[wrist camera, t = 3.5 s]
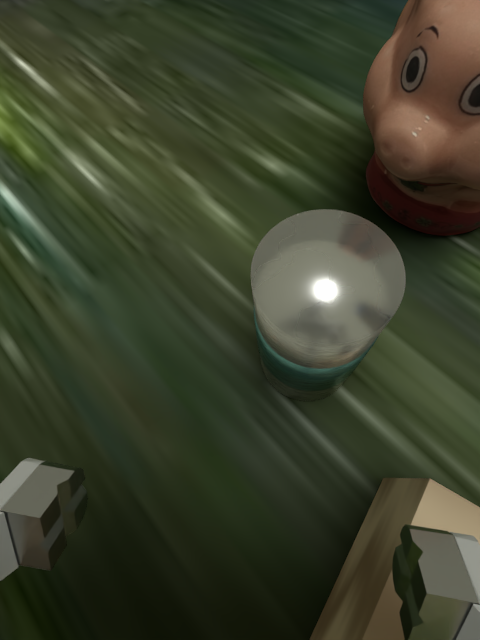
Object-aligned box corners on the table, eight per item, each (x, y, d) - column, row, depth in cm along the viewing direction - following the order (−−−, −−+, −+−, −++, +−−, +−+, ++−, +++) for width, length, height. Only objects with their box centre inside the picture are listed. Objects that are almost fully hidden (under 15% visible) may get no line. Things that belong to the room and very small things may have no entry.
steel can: (325, 420, 23) (364, 375, 13) (242, 372, 24) (220, 298, 14) (366, 340, 25) (431, 245, 14) (287, 300, 26) (295, 187, 16)
